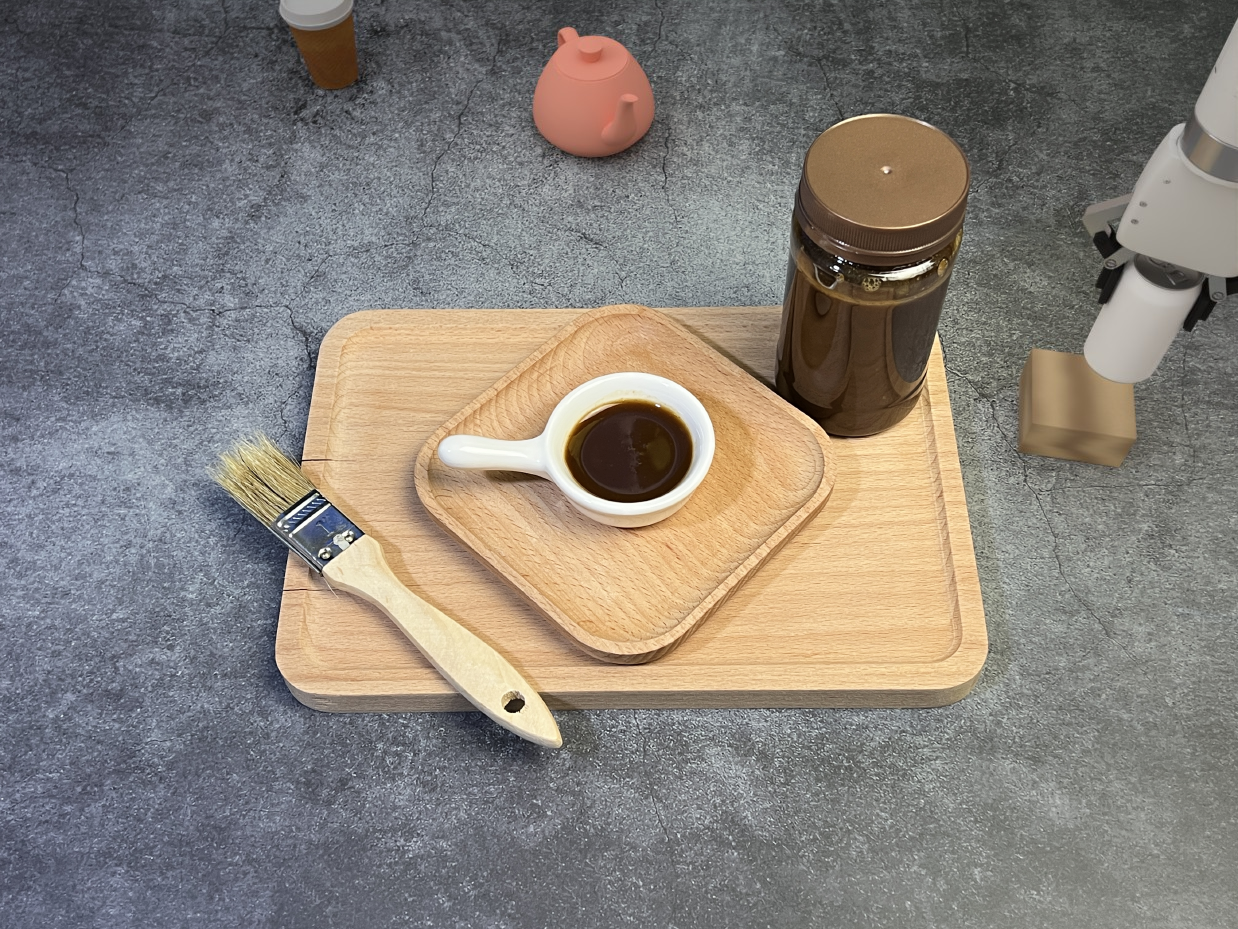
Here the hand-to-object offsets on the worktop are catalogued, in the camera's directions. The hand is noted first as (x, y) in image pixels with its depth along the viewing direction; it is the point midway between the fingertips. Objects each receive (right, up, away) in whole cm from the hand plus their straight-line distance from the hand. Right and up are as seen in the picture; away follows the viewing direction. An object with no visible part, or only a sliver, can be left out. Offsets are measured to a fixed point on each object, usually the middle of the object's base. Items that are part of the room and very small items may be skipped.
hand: (1147, 305), depth 95 cm
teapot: (-48, +29, +48) cm, 74 cm away
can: (0, -4, +6) cm, 7 cm away
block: (+1, -9, +20) cm, 22 cm away
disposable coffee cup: (-85, +40, +56) cm, 109 cm away
